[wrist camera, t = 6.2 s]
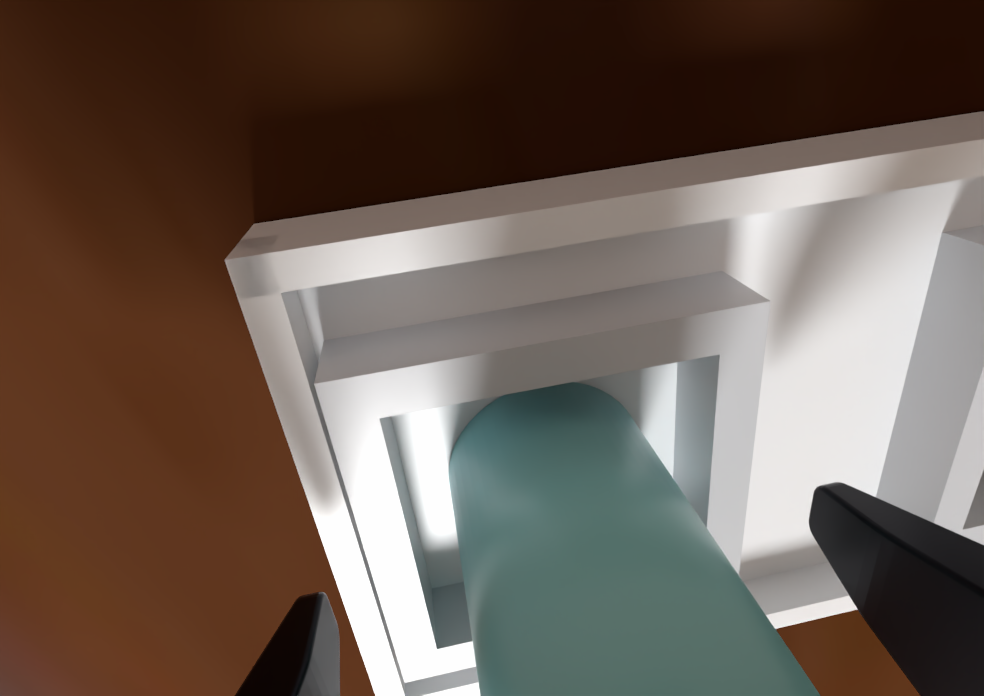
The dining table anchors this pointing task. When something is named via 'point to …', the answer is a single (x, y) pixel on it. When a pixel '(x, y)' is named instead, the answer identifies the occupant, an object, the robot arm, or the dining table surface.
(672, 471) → the housing
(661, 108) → the dining table surface
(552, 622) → the teal capsule cylinder
